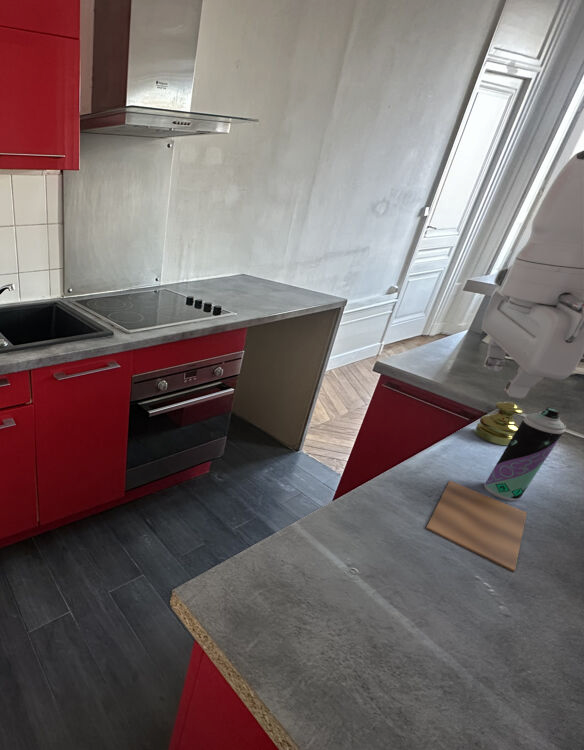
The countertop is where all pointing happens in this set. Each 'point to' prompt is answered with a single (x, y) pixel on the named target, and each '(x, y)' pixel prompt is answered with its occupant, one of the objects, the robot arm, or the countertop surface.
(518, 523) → the wooden board
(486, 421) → the gold stacked rounded piece
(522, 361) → the robot arm
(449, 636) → the countertop surface
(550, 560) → the countertop surface
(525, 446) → the spray can
